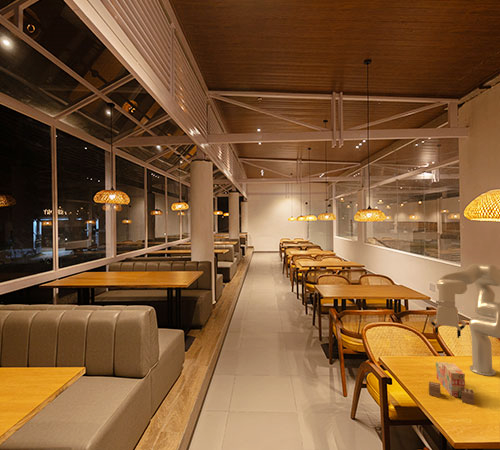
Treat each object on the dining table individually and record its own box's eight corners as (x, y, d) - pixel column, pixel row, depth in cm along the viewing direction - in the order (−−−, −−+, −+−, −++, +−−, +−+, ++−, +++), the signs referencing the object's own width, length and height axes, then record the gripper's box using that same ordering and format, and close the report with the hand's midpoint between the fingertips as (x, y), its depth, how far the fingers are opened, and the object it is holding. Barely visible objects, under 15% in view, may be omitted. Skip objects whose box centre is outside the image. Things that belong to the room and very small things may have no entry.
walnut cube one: (429, 390, 167) (429, 381, 167) (440, 393, 165) (440, 383, 165) (429, 395, 163) (428, 384, 163) (440, 397, 160) (440, 387, 161)
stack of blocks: (436, 378, 182) (435, 356, 182) (448, 378, 181) (447, 357, 181) (451, 397, 161) (451, 372, 161) (465, 398, 160) (464, 373, 160)
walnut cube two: (461, 397, 160) (461, 387, 160) (473, 400, 157) (473, 389, 158) (461, 402, 156) (461, 391, 156) (474, 404, 153) (474, 394, 153)
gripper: (428, 303, 173) (429, 335, 173) (466, 307, 164) (467, 340, 164) (428, 301, 180) (429, 331, 179) (465, 304, 171) (466, 336, 170)
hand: (447, 336), depth 171 cm, fingers open, 9 cm apart
